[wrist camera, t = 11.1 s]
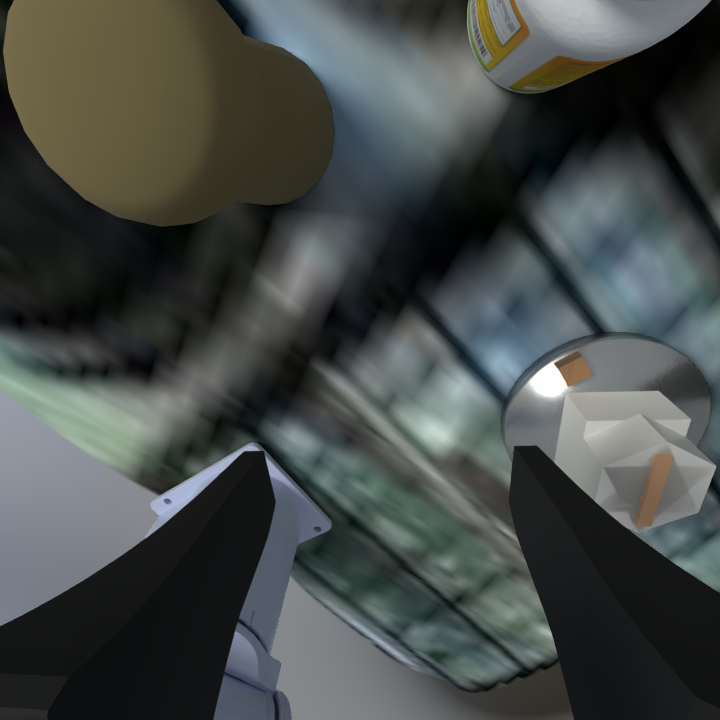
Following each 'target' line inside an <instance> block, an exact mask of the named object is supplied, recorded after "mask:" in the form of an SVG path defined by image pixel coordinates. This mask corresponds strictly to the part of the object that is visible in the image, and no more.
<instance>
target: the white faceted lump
mask: <svg viewBox="0 0 720 720" xmlns="http://www.w3.org/2000/svg"><path fill="white" fill-rule="evenodd" d="M690 422H691V419H690V418H689V417H688V416H687V415H686V414H684V413H683V412H682V411H681V410H680V409H679V408H678V407H677V406H675V405H674V404H673V403H672V402H671V401H670V400H669V399H667V398H666V397H665V396H664V395H663V394H662V393H661V392H659V391H629V392H582V393H566V396H565V402H564V408H563V413H562V419H561V425H560V431H559V437H558V443H557V449H556V455H555V461H554V462H555V464H556V465H557V466H558V467H559V468H560V469H561V470H562V471H563V472H564V473H565V474H566V475H567V476H568V477H569V478H570V479H572V480H573V481H574V482H575V483H576V484H577V485H578V486H579V487H580V488H581V489H582V490H583V491H584V492H585V493H586V494H588V495H589V496H590V497H591V498H592V499H593V500H594V501H595V502H596V503H597V504H598V505H600V506H601V507H602V508H603V509H604V510H605V511H606V512H608V513H609V514H610V515H611V516H612V517H614V518H615V519H616V520H617V521H618V522H620V523H621V524H622V525H623V526H624V527H626V528H629V529H631V530H633V531H635V532H637V533H640V532H643V531H646V530H649V529H652V528H655V527H658V526H660V525H663V524H666V523H669V522H672V521H675V520H678V519H681V518H684V517H687V516H690V515H693V514H696V513H699V510H700V508H701V505H702V503H703V500H704V497H705V495H706V492H707V490H708V487H709V485H710V482H711V479H712V477H713V474H714V472H715V469H716V465H715V464H714V463H713V462H711V461H710V460H709V459H708V458H707V457H706V456H705V455H704V454H703V453H702V452H701V451H700V450H699V449H698V448H697V447H696V446H695V445H694V444H693V443H692V442H691V441H689V440H688V439H687V438H686V434H687V431H688V428H689V425H690Z"/></svg>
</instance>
